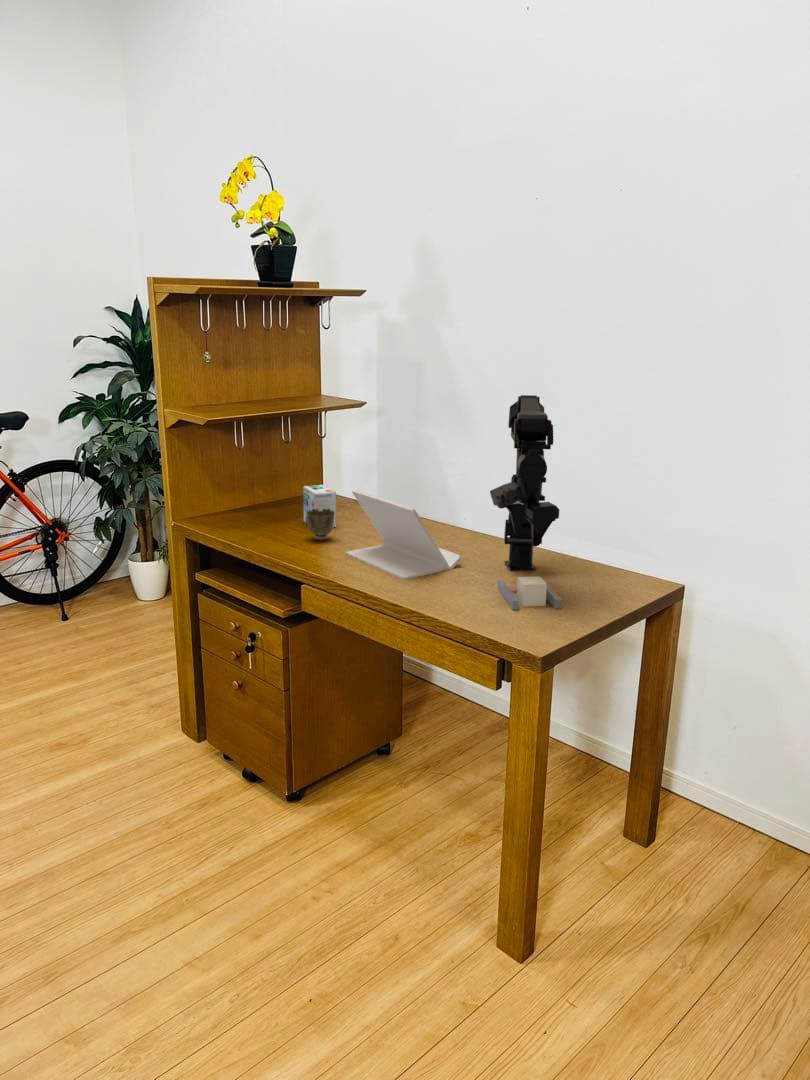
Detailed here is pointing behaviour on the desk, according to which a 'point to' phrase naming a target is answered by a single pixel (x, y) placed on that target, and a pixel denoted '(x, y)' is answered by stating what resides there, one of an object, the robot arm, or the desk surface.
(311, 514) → the cup
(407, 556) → the tablet stand
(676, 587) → the desk surface
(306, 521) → the light bulb box
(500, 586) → the u-shaped bracket
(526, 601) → the cream block
